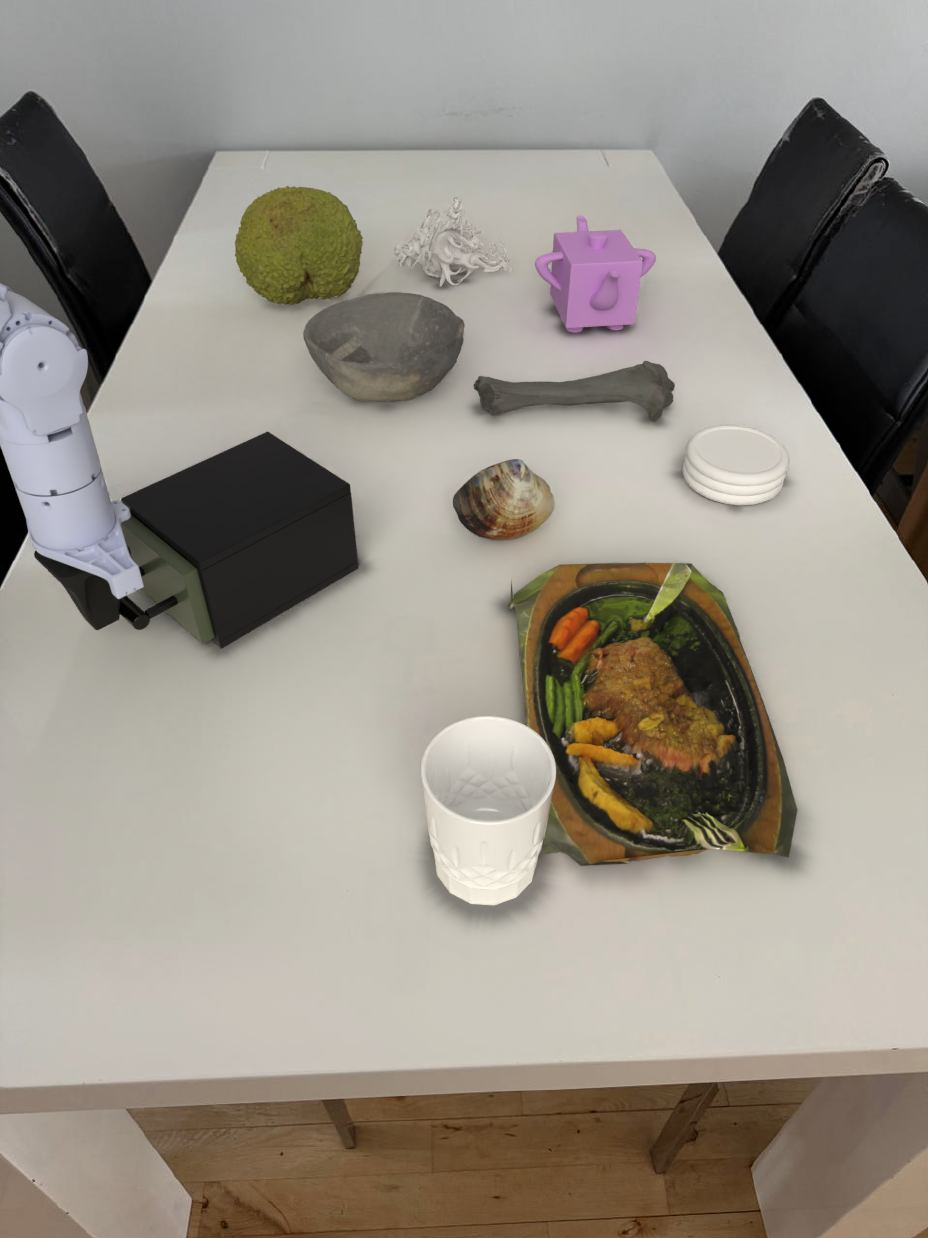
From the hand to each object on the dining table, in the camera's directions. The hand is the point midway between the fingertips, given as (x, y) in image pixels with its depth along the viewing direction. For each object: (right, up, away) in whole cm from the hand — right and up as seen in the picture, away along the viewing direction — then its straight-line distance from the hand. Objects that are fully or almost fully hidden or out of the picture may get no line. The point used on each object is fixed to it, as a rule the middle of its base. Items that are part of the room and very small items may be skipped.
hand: (103, 620), depth 72 cm
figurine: (+27, +48, +57) cm, 79 cm away
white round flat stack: (+55, +14, +21) cm, 61 cm away
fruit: (+7, +44, +52) cm, 68 cm away
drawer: (+7, +3, +7) cm, 10 cm away
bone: (+41, +23, +30) cm, 55 cm away
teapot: (+45, +39, +47) cm, 76 cm away
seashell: (+32, +8, +14) cm, 36 cm away
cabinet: (+10, +4, +9) cm, 14 cm away
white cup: (+30, -16, -11) cm, 36 cm away
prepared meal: (+42, -7, -2) cm, 42 cm away
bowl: (+20, +27, +34) cm, 48 cm away
